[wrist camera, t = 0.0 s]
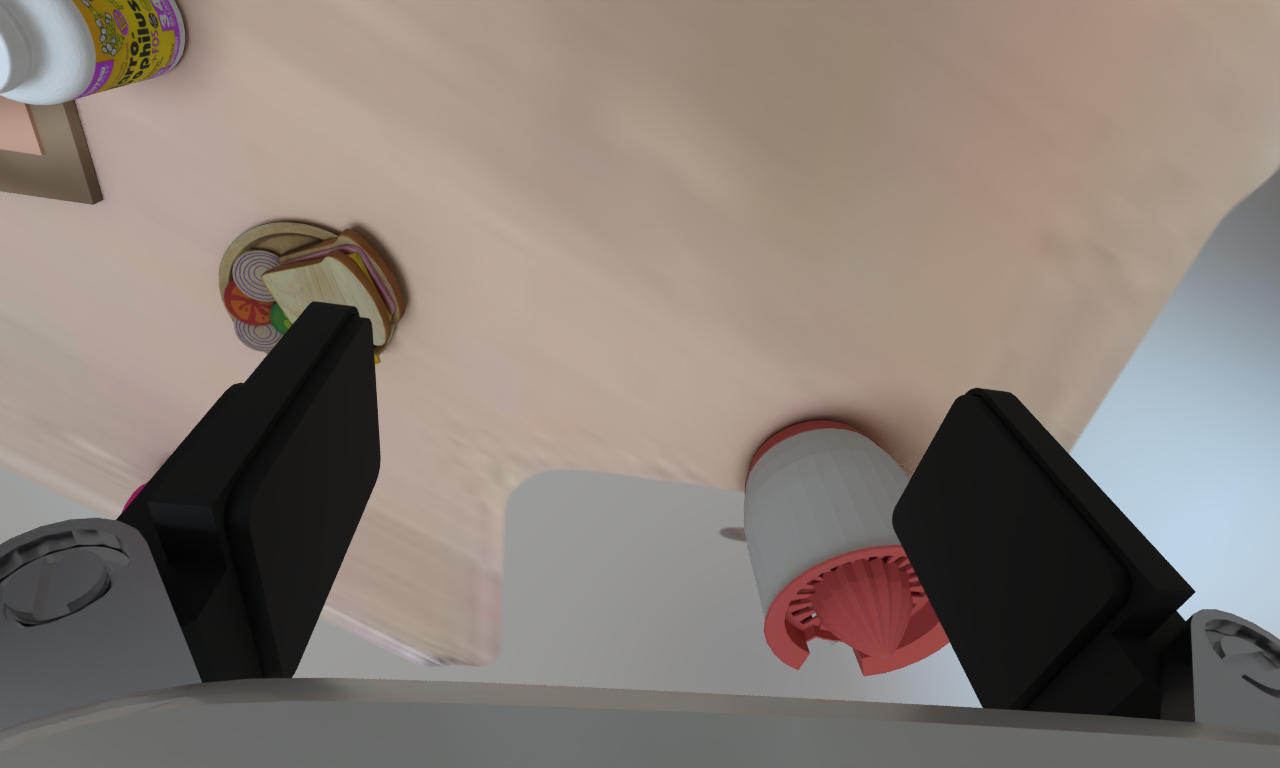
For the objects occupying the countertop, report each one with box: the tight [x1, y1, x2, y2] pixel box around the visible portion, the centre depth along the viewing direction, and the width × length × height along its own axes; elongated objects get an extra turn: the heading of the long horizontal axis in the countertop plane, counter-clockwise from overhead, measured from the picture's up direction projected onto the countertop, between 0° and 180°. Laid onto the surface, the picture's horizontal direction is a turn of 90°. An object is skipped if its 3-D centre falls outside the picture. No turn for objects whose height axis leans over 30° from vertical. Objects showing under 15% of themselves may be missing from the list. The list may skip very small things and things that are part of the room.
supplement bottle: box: [0, 0, 185, 105], centre depth 32 cm, size 7×7×13 cm
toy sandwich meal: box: [219, 222, 405, 364], centre depth 47 cm, size 12×14×5 cm
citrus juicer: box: [744, 420, 950, 676], centre depth 53 cm, size 16×17×20 cm
